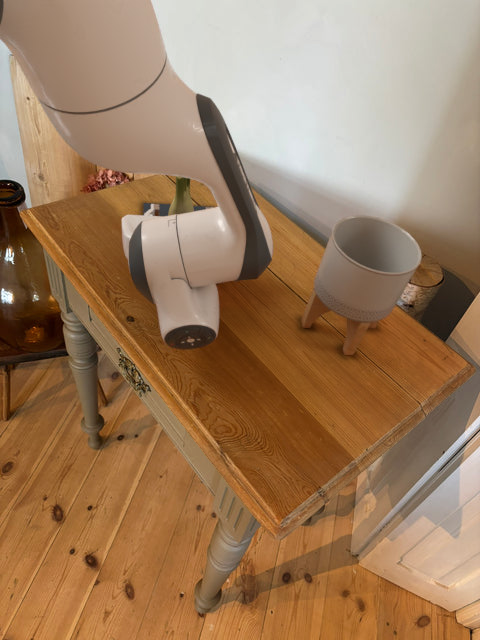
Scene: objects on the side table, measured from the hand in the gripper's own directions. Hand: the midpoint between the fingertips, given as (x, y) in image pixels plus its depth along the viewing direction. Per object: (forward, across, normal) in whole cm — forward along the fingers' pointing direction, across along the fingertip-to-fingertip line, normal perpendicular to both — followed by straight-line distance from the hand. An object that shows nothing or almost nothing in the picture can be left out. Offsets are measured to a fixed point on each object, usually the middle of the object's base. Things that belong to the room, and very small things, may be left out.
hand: (182, 208), depth 81 cm
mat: (+5, 0, +8) cm, 9 cm away
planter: (-20, -26, +8) cm, 34 cm away
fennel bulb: (+5, 0, +7) cm, 9 cm away
